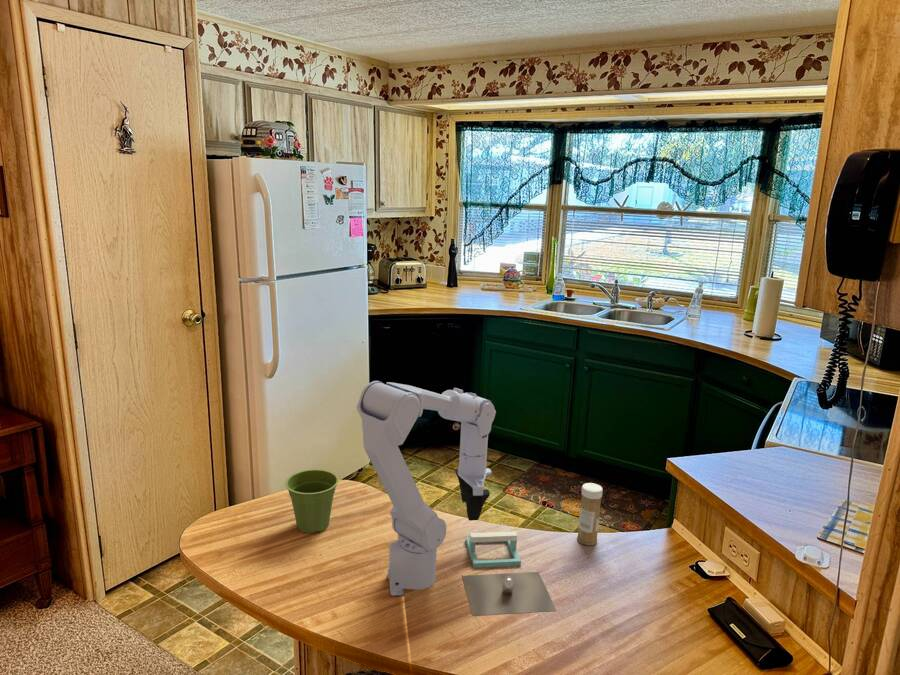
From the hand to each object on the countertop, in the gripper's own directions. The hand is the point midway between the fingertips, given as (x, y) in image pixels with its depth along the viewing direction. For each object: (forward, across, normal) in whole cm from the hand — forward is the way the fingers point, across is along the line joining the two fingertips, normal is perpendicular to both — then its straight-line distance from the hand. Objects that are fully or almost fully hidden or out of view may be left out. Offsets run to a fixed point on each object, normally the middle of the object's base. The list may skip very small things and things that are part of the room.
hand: (470, 510), depth 132 cm
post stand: (+10, -16, -5) cm, 19 cm away
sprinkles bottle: (+10, +2, -28) cm, 30 cm away
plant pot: (+10, +13, +34) cm, 38 cm away
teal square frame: (+10, -2, -5) cm, 11 cm away
